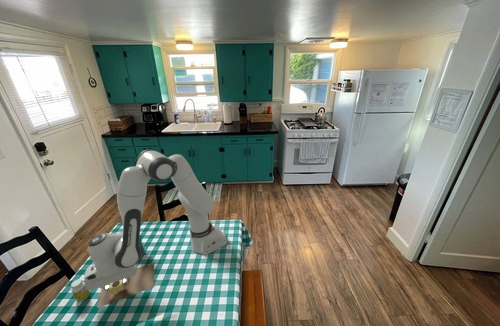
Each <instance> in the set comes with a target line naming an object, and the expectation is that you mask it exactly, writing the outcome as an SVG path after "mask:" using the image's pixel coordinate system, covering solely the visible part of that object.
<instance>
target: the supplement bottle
mask: <svg viewBox="0 0 500 326" xmlns="http://www.w3.org/2000/svg"><path fill="white" fill-rule="evenodd" d="M70 287H71V289H70V290H71V292H72V295H73V297H74V298H75V300H76V302H83V301H84V300H86V299H87V298H89V296H90V294H91V292H90V291H91V290H87V289H86V287H85V281H83V280H82V278H78V279H76V280H74V281H72V283H71V284H70Z"/></svg>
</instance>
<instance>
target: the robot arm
mask: <svg viewBox="0 0 500 326" xmlns="http://www.w3.org/2000/svg"><path fill="white" fill-rule="evenodd" d="M138 154H139V155H138V156H137V158H136V159H135V161H134V162H133V166H129V167H126V168H125V169H123V170H122V172H121V175H120V177H119V181H118V185H117V192H116V202H117V207H118V212H119V214H120V218H121V222H122V231H120V232H116V233H108V232H101V233H98V234H96V235H95V236H93V237H92V238H91V239H90V240H89V242H88V244H87V250H88V254H89V257H90V259H91V261H92V262H93V263H92V264H91V265H88V266H87V268H86V271H85V274H84V277H83V279H84V282H85V287H86V289H87V290H89V291H93V290H96V289H98V288H100V290H101V289H104V290H105V291H108V290H109V289H108V286H109V285H107V284H110V283H113V282H116V281H119V280H122V279H124V282H123V283H124V285H125V284H128V278H129V277H130V276H133V275H136V274H137V270H138V268H139V267H138V265H137V264H138V263H139V261H141V259H142V257H143V255H142V251H141V249H140V246H139V237H141V224H142V223H141V222H142V217H143V210H144V206H145V202H146V196H147V189H148V183H150V180H151V179H153V180H155V181H158V182H165V181H168V180H169V179H171V180H172V182H173V184H174V186H175V187H176V189H177V190H178V193H177V197H178V198H177V199H178V200H179V201H180V203H181V205H182V206H183V209H184V211H185V213H186V215H187V218H188V222H189V233H190V237H191V242H190V243H191V244H190V249H191V251H192V252H194V253H196V254H201V255H202V256H208V255H209V254H211V253H213V252H215V251H216V250H218V249H221V248H222V247H224V246H226V245H228V244H227V243H228V239H227V236H226V234H225V232H223V230H221V229H220V228H219V227H218V226H216V225H215V226H214V225H213V223H212V222H211V221H210V220H209V214H210V213H211V212H212V211H213V210H214V208H215V207H216V206H215V205H216V202H215V199H214V198H213V196H211V194H209V193H208V191H207V190H206V188H204V186H203V185H202V183H200V181H199V180H198V178H197V176H196V174H195V173H194V171H193V169H192V167H191V165H190V164H189V162H188V161H187V159H186V158H185V157H184V156H183V155H182V154H179V153H178V154H176V153H175V154H173V155H170V156H168V157H167V156H166V155H165V154H163V153H161V152H159V151H157V150H155V149H150V148H149V149H147V148H146V149H145V150H142V151H141V152H140V153H138ZM106 285H107V286H106Z"/></svg>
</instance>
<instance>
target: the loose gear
mask: <svg viewBox="0 0 500 326" xmlns="http://www.w3.org/2000/svg"><path fill="white" fill-rule="evenodd" d="M117 282H118V283H119V285H118V286H116V287H114V284H115V283H117ZM123 282H124V280H123V279H122V280H119V281H116V282H113V283H110V285H109V286H108V289H109V292H110V294H118V292H120V291H122V290H123V288H124V286H125V285H124V283H123Z"/></svg>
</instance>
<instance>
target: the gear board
mask: <svg viewBox="0 0 500 326" xmlns="http://www.w3.org/2000/svg"><path fill="white" fill-rule="evenodd" d="M137 268H138V270H137V274H136V275H133V276H130V277H129V278H128V284H125V286H124V288H123V290H122V291H120V292H118V294H110V292H109V290H108V291H105V290H104V289H101V288H100V294H99V299H98V303H97V309H100V308H102V307H104V306H107V305H108V306H109V305H110V304H113V303H115V302H119V301H122V300H123V299H126V298H129V297H131V296H134V295H136V294H139V293H142V292H145V291H147V290H149V289H152V288H155V262H151V263H148V264H145V265H142V266H139V267H137ZM123 280H124V279H123ZM107 285H110V284H107ZM107 285H106V286H107ZM118 285H119V283H118V282H117V283H115V284H114V287H116V286H118Z"/></svg>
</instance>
